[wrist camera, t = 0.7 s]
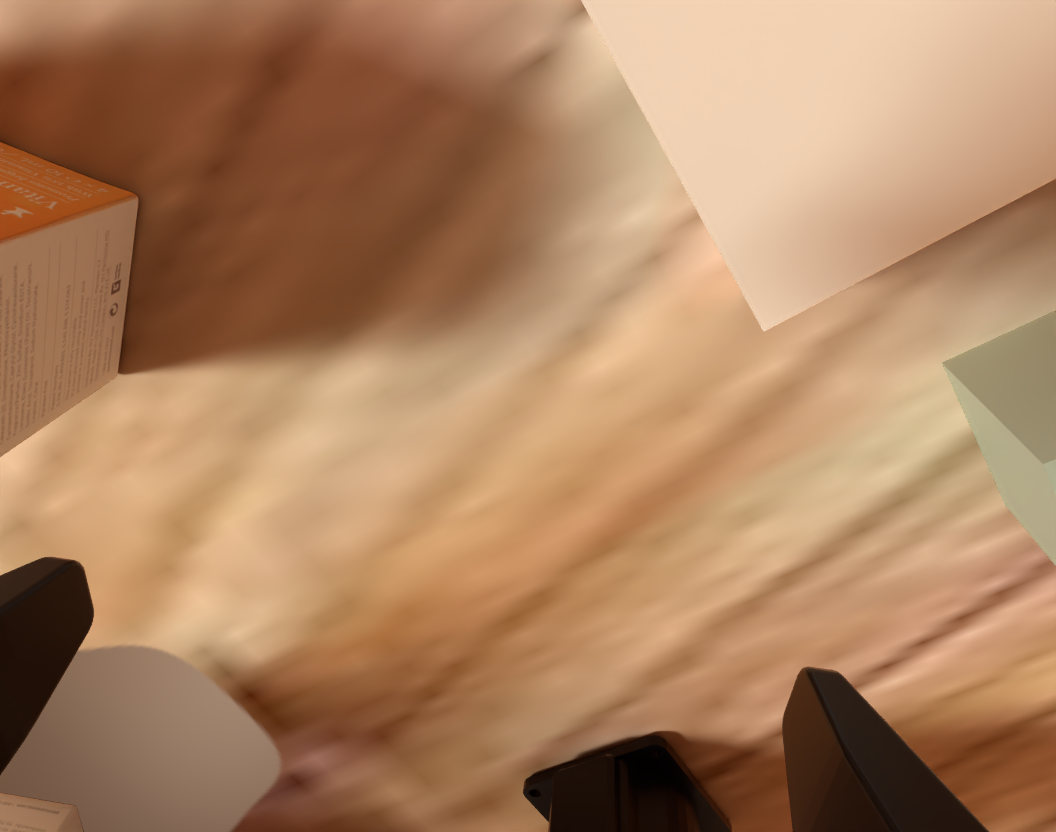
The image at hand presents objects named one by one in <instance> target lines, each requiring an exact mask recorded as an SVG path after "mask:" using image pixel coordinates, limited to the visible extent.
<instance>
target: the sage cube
mask: <svg viewBox="0 0 1056 832" xmlns="http://www.w3.org/2000/svg"><path fill="white" fill-rule="evenodd" d="M942 364H943V366H944V369H945V371H946V373H947V375H948V378H949V380H950V382H951V384H952V387H953V389H954V391H955V393H956V396H957V398H958V400H959V402H960V405H961V407H962V409H963V411H964V414H965V416H966V418H967V420H968V423H969V425H970V427H971V429H972V431H973V434H974V436H975V438H976V440H977V443H978V445H979V447H980V449H981V452H982V454H983V456H984V458H985V461H986V463H987V465H988V467H989V470H990V472H991V474H992V476H993V479H994V481H995V483H996V485H997V488H998V490H999V492H1000V494H1001V496H1002V499H1003V501H1004V503H1005V505H1006V507H1007V508H1008V509H1009V510H1010V512H1011V513H1012V514H1013V515H1014V516H1015V518H1016V519H1017V520H1018V521H1019V522H1020V524H1021V525H1022V526H1023V527H1024V528H1025V530H1026V531H1027V532H1028V533H1029V534H1030V536H1031V537H1032V538H1033V539H1034V540H1035V542H1036V543H1037V544H1038V545H1039V546H1040V548H1041V549H1042V550H1043V551H1044V552H1045V554H1046V555H1047V556H1048V557H1049V558H1050V560H1051V561H1052V562H1053V563H1054V564H1055V566H1056V311H1054V312H1051V313H1049V314H1047V315H1045V316H1043V317H1041V318H1038V319H1036V320H1034V321H1032V322H1030V323H1027V324H1025V325H1023V326H1021V327H1019V328H1017V329H1014V330H1012V331H1010V332H1008V333H1006V334H1004V335H1001V336H999V337H997V338H995V339H993V340H991V341H988V342H986V343H984V344H982V345H980V346H978V347H975V348H973V349H971V350H969V351H967V352H965V353H962V354H960V355H958V356H956V357H954V358H952V359H949V360H947V361H945V362H943V363H942Z"/></svg>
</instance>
